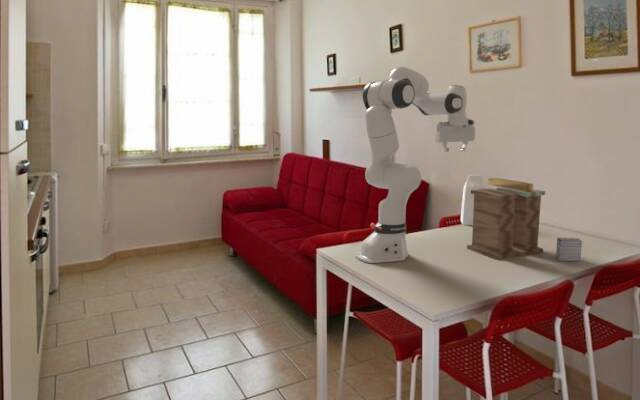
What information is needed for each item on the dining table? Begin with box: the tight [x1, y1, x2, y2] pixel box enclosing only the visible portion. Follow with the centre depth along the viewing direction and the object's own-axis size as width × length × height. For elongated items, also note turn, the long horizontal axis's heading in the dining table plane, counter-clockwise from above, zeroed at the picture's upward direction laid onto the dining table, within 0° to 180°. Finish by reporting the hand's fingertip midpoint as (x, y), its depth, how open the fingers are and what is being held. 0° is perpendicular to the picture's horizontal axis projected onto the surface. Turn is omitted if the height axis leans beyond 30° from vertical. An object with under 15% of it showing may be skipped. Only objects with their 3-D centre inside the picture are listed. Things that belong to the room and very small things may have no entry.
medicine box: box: [555, 237, 583, 262], centre depth 189 cm, size 8×4×9 cm, turn 84°
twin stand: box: [466, 186, 546, 261], centre depth 202 cm, size 25×18×26 cm
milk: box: [460, 174, 487, 226], centre depth 253 cm, size 12×12×26 cm
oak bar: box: [487, 177, 534, 192], centre depth 207 cm, size 4×22×3 cm, turn 22°
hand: (454, 151), depth 221 cm, fingers open, 8 cm apart
